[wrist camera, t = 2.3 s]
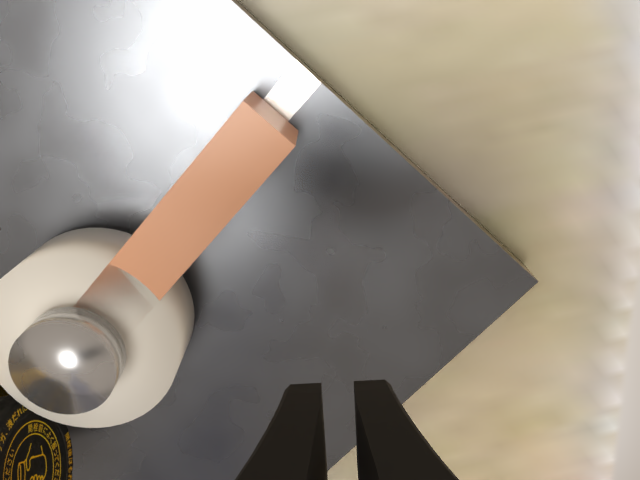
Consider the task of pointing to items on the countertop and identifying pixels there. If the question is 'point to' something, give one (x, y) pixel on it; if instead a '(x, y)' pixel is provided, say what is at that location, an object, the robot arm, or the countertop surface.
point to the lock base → (226, 233)
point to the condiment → (32, 445)
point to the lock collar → (145, 266)
